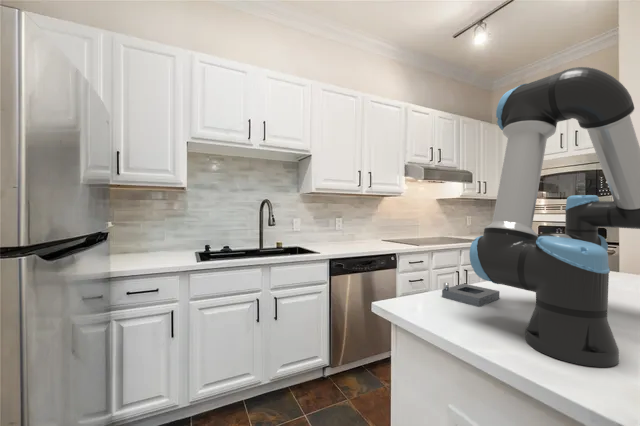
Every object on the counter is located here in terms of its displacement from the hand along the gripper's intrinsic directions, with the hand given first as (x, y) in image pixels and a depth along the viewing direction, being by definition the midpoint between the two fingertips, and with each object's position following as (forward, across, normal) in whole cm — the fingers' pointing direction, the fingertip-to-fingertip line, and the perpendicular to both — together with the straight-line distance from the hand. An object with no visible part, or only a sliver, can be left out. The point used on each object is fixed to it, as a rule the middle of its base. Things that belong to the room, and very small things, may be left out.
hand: (477, 246), depth 90 cm
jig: (-3, +9, -18) cm, 20 cm away
